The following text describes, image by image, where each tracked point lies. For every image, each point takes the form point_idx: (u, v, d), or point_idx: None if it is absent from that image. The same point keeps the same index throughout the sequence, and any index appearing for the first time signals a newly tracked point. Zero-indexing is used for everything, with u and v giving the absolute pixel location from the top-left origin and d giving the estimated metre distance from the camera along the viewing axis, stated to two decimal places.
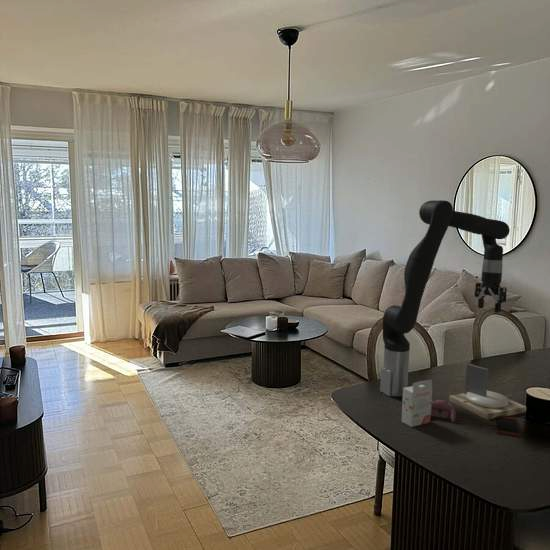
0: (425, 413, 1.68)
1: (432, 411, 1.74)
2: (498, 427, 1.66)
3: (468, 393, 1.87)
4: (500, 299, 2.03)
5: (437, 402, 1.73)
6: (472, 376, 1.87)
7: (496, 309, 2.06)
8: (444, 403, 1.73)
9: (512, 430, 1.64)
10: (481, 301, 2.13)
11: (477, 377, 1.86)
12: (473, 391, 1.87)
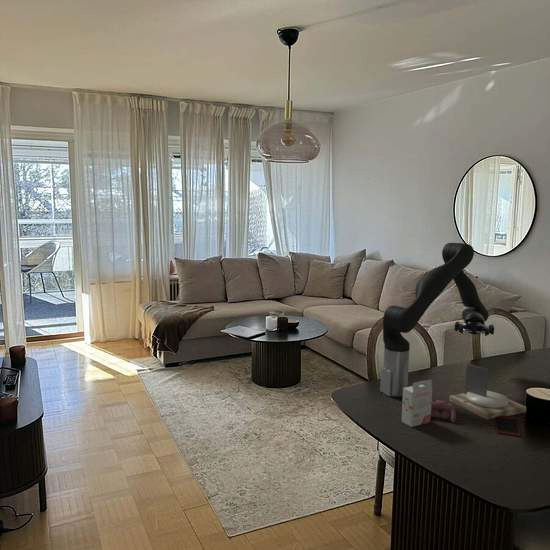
0: (425, 412, 1.68)
1: (432, 411, 1.74)
2: (498, 427, 1.66)
3: (468, 393, 1.87)
4: (492, 327, 1.96)
5: (438, 402, 1.73)
6: (472, 376, 1.87)
7: (487, 330, 1.93)
8: (444, 403, 1.72)
9: (512, 430, 1.64)
10: None
11: (477, 377, 1.86)
12: (473, 391, 1.87)
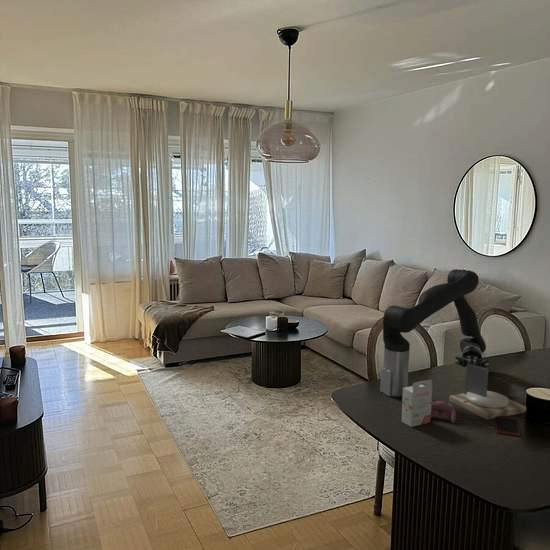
0: (425, 412, 1.68)
1: (432, 412, 1.74)
2: (498, 427, 1.66)
3: (468, 393, 1.87)
4: (479, 361, 1.99)
5: (438, 403, 1.72)
6: (472, 376, 1.87)
7: None
8: (444, 404, 1.72)
9: (512, 430, 1.64)
10: None
11: (477, 377, 1.86)
12: (473, 391, 1.87)
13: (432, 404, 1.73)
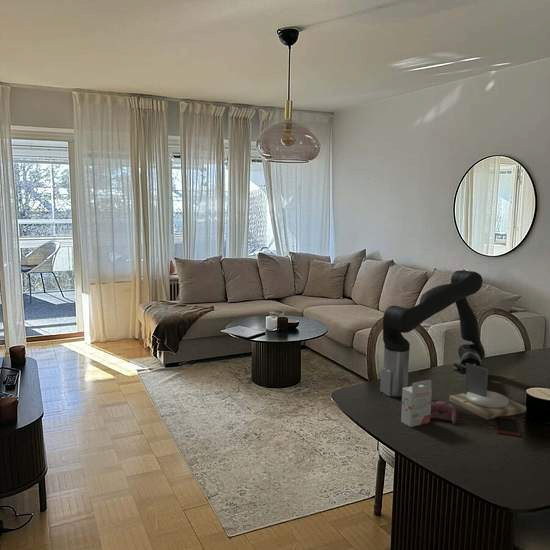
0: (424, 413, 1.68)
1: (433, 413, 1.73)
2: (498, 427, 1.66)
3: (468, 393, 1.87)
4: None
5: (438, 403, 1.72)
6: (472, 376, 1.87)
7: None
8: (445, 405, 1.71)
9: (512, 430, 1.64)
10: None
11: (477, 377, 1.86)
12: (473, 391, 1.87)
13: (432, 405, 1.73)
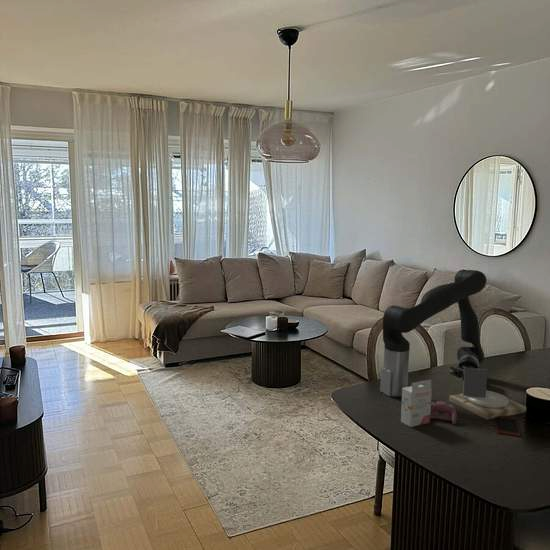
0: (424, 413, 1.68)
1: (433, 413, 1.73)
2: (498, 427, 1.66)
3: (470, 397, 1.83)
4: None
5: (438, 404, 1.72)
6: (471, 379, 1.84)
7: None
8: (445, 405, 1.71)
9: (512, 430, 1.64)
10: None
11: (477, 379, 1.83)
12: (473, 394, 1.84)
13: (433, 405, 1.72)
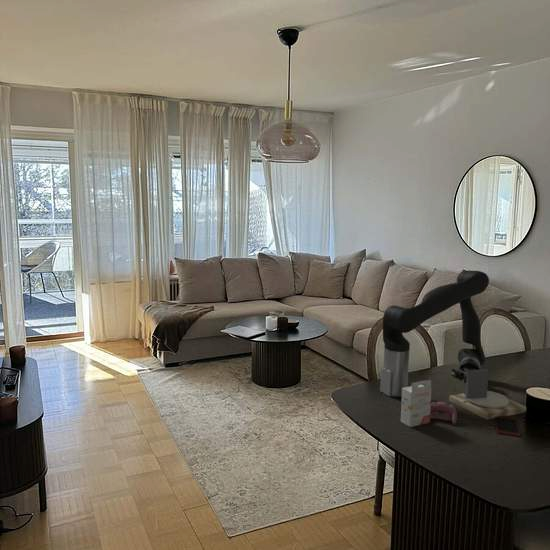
0: (424, 413, 1.67)
1: (433, 413, 1.73)
2: (498, 427, 1.66)
3: (475, 400, 1.81)
4: None
5: (439, 404, 1.72)
6: (474, 381, 1.82)
7: None
8: (445, 405, 1.71)
9: (512, 430, 1.64)
10: None
11: (479, 381, 1.82)
12: (475, 396, 1.82)
13: (433, 405, 1.72)
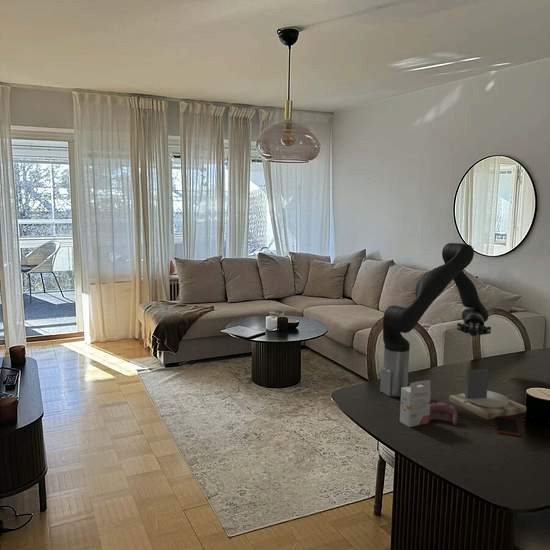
0: (423, 413, 1.67)
1: (434, 414, 1.72)
2: (498, 427, 1.66)
3: (475, 400, 1.81)
4: (481, 327, 1.97)
5: (439, 405, 1.71)
6: (474, 381, 1.82)
7: (475, 330, 1.94)
8: (446, 406, 1.70)
9: (512, 430, 1.64)
10: (473, 330, 1.95)
11: (479, 381, 1.82)
12: (475, 396, 1.82)
13: (433, 406, 1.72)
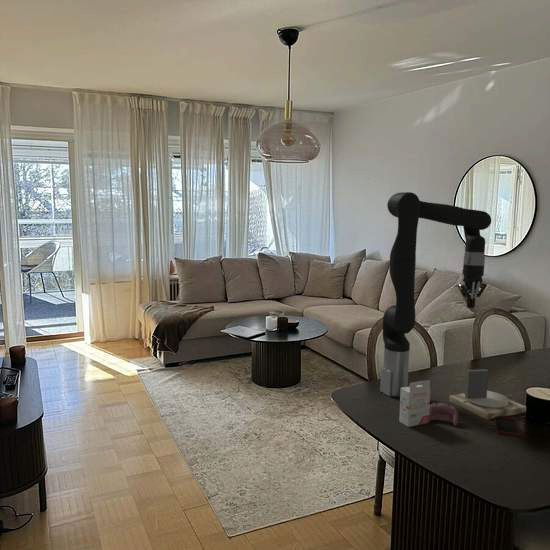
0: (422, 413, 1.67)
1: (434, 414, 1.72)
2: (498, 427, 1.66)
3: (475, 400, 1.81)
4: (479, 293, 1.99)
5: (440, 405, 1.70)
6: (474, 381, 1.82)
7: (473, 305, 1.99)
8: (446, 406, 1.70)
9: (512, 430, 1.64)
10: None
11: (479, 381, 1.82)
12: (475, 396, 1.82)
13: (434, 406, 1.71)
